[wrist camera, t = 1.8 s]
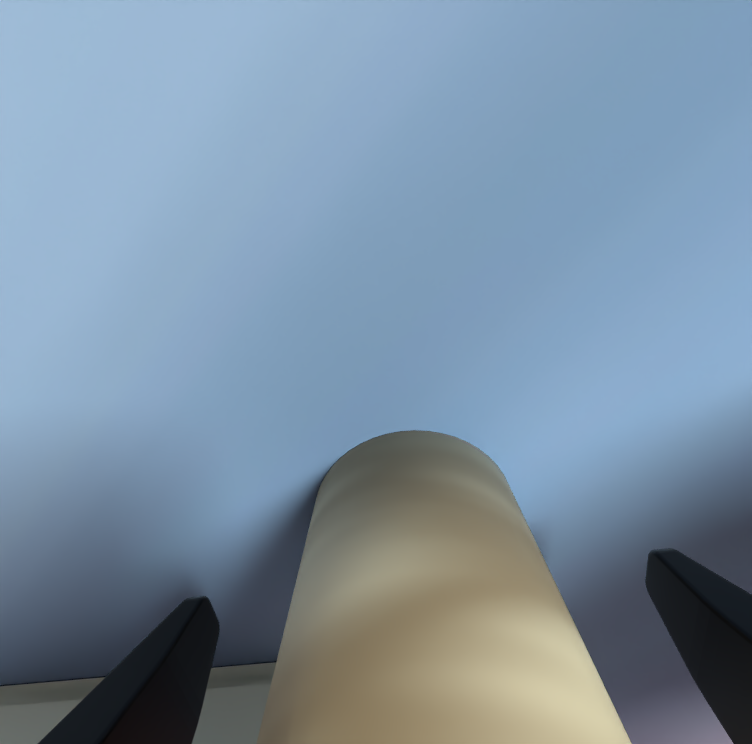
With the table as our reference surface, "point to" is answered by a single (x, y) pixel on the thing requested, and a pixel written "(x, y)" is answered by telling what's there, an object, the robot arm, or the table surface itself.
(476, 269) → the table surface
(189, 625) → the robot arm
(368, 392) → the table surface
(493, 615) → the beige rounded cylinder
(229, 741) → the bin
